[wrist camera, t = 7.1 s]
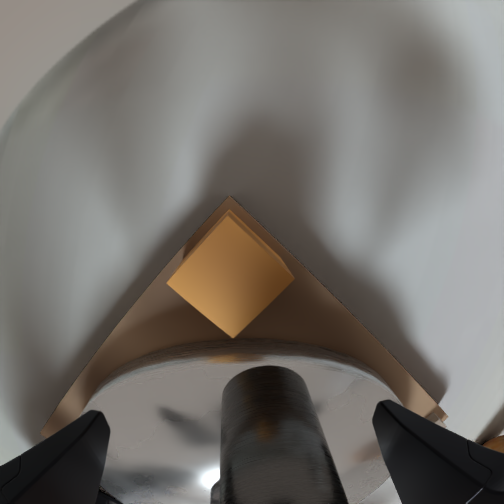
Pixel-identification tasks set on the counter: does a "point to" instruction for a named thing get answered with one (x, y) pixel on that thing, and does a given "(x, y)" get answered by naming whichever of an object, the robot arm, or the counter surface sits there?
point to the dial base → (271, 323)
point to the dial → (242, 425)
